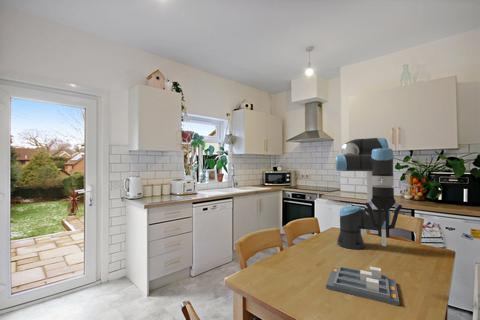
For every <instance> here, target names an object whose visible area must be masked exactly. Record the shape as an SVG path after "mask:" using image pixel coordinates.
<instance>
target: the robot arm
mask: <svg viewBox="0 0 480 320" xmlns="http://www.w3.org/2000/svg"><path fill="white" fill-rule="evenodd" d="M340 153H341V155H340V154H339V155H336V156H335V170H336V171H338V172H366V191H367V192H366V193H367V194H366V197H367V199H366V200H367V202H365V206H364V209H361V206H358V205H352V206H351V205H349V206H344V207H341V208H340V209H339V215H338V216H339V233H338V237H337V239H336V245H338V246H340V247H342V248H343V249H344V248H346V249H350V250H361V249H362V250H363V249H364V248H365V241H364V238H363V236H362V235H363V234H362V230H369V231H375V232H377V233H378V235H377V236H378V237H380V238H381V246H382V247H387V238H390V230H391V229H392V230H393V229H395V227H396V224H397V220H398V216H399V213H400V211H401V209H402V208H403V205H402V204H400V203H398V202H396V199H395V188H394V185H395V182H394V177H395V176H394V159H395V158H394V151H393V149H392V148H390V147H389V142H388V141H387V138H385V137H370V138H355V139H350V140H349V141H347V142H346V143H344V144H343V145H342V147H341V150H340ZM393 206H394V209H395V210H394V212H393V215H392V221H391V211H390V209H392V207H393Z"/></svg>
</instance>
